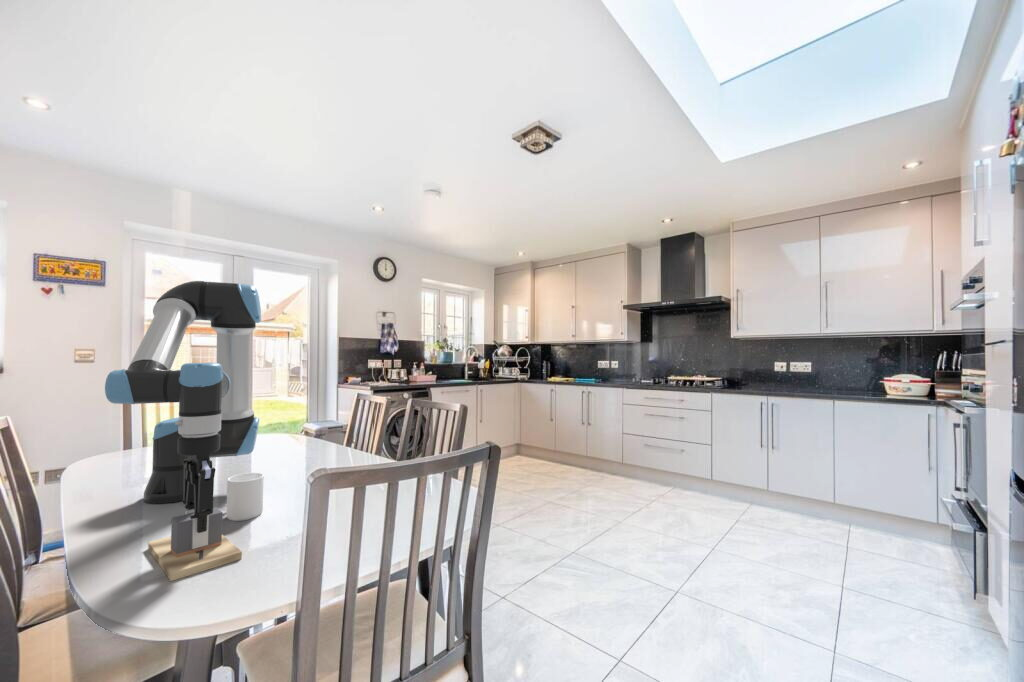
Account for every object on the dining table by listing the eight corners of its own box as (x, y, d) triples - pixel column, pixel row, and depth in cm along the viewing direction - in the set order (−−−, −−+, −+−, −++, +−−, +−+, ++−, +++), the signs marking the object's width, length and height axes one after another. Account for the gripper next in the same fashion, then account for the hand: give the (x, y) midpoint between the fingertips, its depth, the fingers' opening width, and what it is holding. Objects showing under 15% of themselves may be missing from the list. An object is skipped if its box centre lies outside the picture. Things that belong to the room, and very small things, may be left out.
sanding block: (170, 550, 91) (171, 517, 91) (214, 538, 97) (215, 507, 97) (176, 557, 88) (177, 523, 89) (221, 544, 95) (222, 512, 95)
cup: (233, 523, 109) (235, 483, 110) (215, 512, 117) (217, 474, 117) (268, 514, 116) (269, 476, 116) (249, 504, 123) (250, 468, 123)
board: (148, 548, 95) (148, 541, 95) (212, 532, 104) (212, 525, 104) (170, 581, 82) (171, 573, 82) (241, 558, 91) (241, 551, 91)
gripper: (167, 430, 96) (164, 536, 96) (190, 442, 85) (186, 562, 84) (207, 426, 102) (204, 526, 101) (233, 437, 91) (230, 549, 90)
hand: (196, 542), depth 93 cm, fingers closed on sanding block, 4 cm apart
